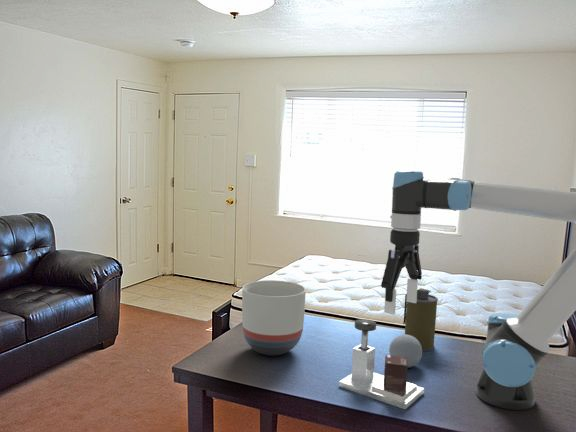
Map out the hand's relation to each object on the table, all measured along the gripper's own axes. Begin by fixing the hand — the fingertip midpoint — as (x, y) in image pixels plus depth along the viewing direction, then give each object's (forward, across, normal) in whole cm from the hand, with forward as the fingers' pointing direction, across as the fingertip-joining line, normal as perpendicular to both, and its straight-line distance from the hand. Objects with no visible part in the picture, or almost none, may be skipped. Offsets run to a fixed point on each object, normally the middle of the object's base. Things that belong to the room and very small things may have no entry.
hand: (400, 307), depth 137 cm
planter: (+24, -1, -44) cm, 51 cm away
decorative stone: (+25, -20, -6) cm, 32 cm away
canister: (+25, -40, -10) cm, 48 cm away
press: (+24, 0, -4) cm, 25 cm away
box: (+22, 0, 0) cm, 22 cm away
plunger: (+20, 0, -10) cm, 22 cm away
